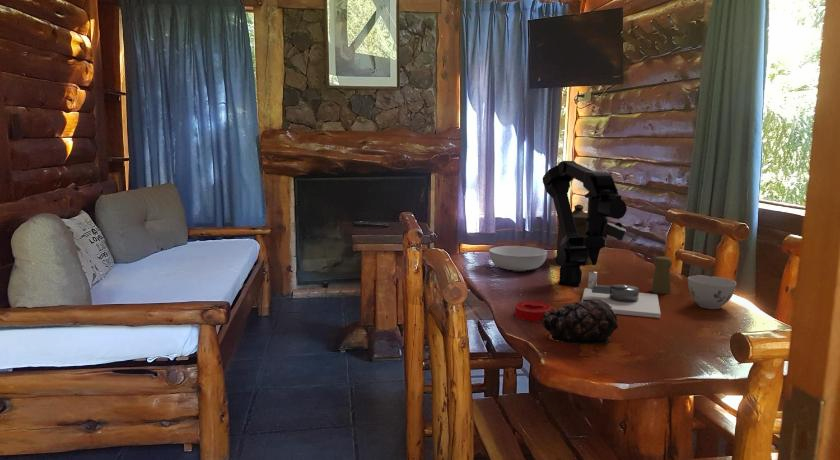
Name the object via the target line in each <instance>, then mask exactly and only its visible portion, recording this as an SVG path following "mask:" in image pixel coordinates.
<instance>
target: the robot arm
mask: <svg viewBox="0 0 840 460" xmlns="http://www.w3.org/2000/svg"><path fill="white" fill-rule="evenodd" d="M572 180H577V181H578V182H580V183H582V187H583V188H584V189H585V190H586V191H587V193H586V194H585V195H584V197H585V198H586V199H588V200H587V212H586V213H587V230H586V237H580V236H579V235H578V233H577V230H576V226H575V222H574V218H573V214H572V212H573V210H572V206H571V204H570V198H569V196H568V194H569V191H570V187H571V182H572ZM542 183H543V186H544V188H545V189H544V190H545V191H546V193H547V194H548V195H549V196H550V197H551V198H552V200H553V204H554V209H555V213H556V217H557V220H558V224H559V225H560V230H561V234H562V241H561V244H560V252H559V253H558V255H557V254H556V256H555V258H554V261H555V263H554V264H555V265H556V266H559V280H558V285H561V286H571V287H579V286H580V284H582V279H583V269H582V268H581V267H586V262H587V258H588V254H589V257H590V260H591V262H592V264H591V265H592V266H596V265H597V263H598V258H599V254H600V251H601V249H603V248H606V244H607V239H608V236H610V237H612V238H614V239H616V240H617V241H623V238H624V237H625V234H626V232H627V229H626V228H624V227H623V223H622V222H620V221H616V222H615V223H613V222H612V223H611V222H609V218H611V219H616V220H619V219H622V218H623V217H624V216H625V215H626V213H627V210H628V209H627V208H628V207H627V204H626V202H625V201H624V200H623V199H622V195H621V194H619V192H618V191H619V190H618V188H617V186H616V184H615V180H614V178H613V176H612V173H610V172H607V171H594V170H592V169H590V168H588V167H585V166H583V165H581V164H579V163H578V162H576V161H574V160H562V161H560V162H558V164H557V165H555V166H553V167H551V168H549V169H548V170H547V172H546V173H545V174H544V175H543V177H542Z"/></svg>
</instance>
